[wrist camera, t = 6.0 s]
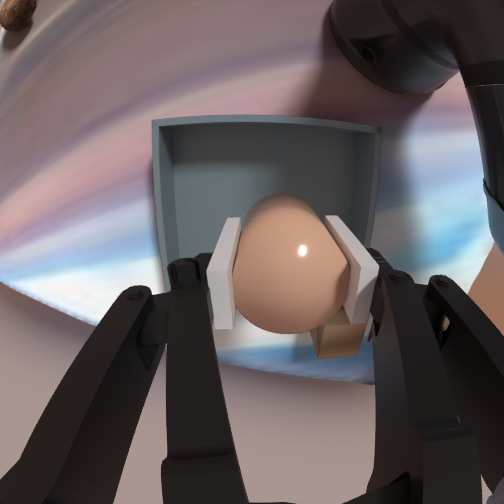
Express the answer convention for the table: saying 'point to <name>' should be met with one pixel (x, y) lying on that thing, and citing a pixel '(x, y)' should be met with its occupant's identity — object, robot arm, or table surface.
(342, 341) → the walnut cube
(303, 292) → the peach colored egg
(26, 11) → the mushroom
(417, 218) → the table surface
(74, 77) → the table surface
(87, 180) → the table surface
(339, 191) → the tote
